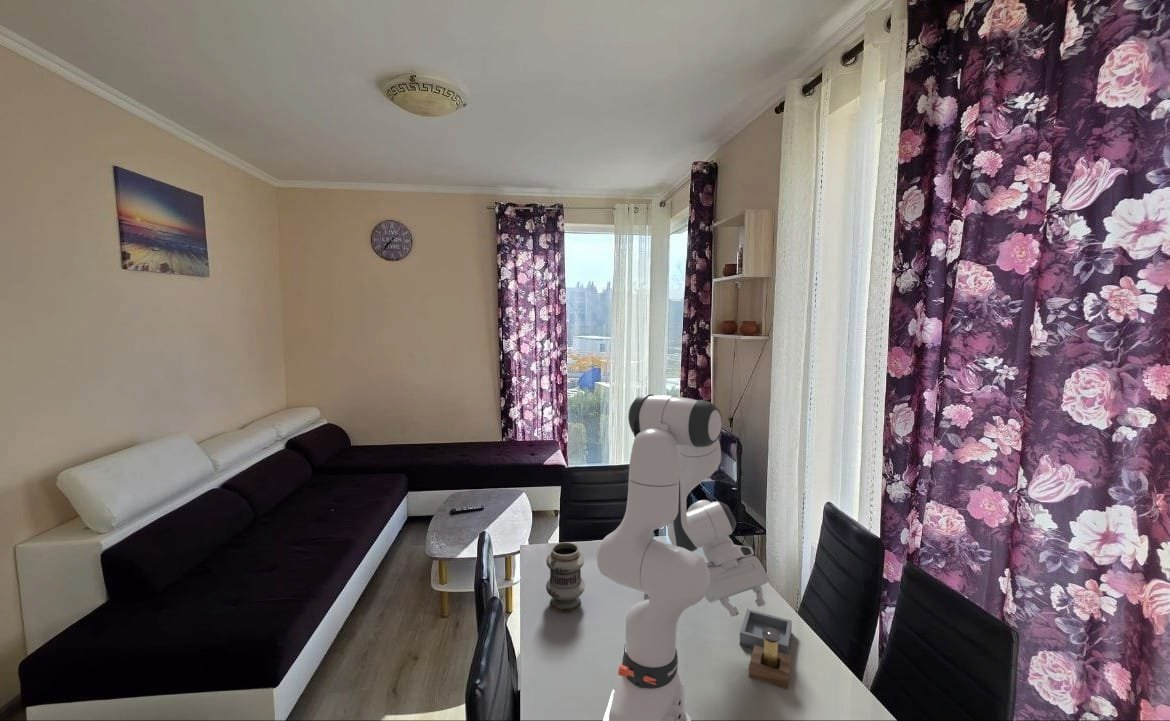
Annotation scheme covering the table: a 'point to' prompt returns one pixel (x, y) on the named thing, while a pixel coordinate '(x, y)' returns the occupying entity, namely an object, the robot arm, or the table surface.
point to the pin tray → (758, 622)
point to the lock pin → (770, 646)
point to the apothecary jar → (565, 577)
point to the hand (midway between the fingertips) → (749, 610)
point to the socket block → (769, 673)
